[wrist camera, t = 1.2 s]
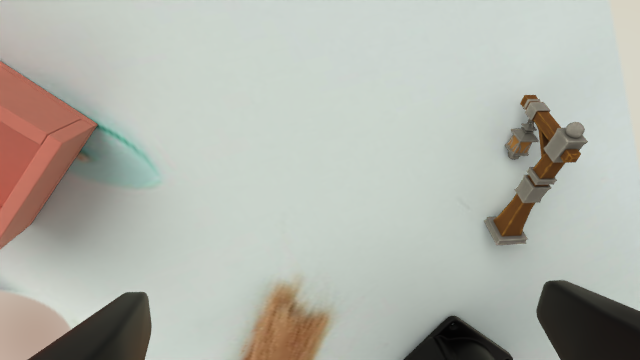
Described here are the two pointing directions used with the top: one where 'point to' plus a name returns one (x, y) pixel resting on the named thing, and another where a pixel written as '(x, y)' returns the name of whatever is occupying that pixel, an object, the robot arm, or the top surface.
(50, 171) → the tray
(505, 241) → the wooden post with brackets
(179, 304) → the top surface
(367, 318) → the top surface
